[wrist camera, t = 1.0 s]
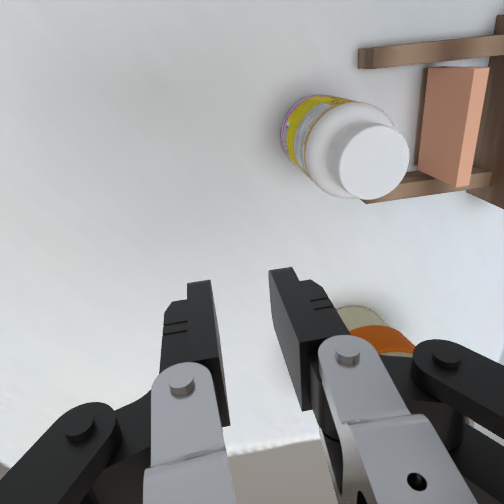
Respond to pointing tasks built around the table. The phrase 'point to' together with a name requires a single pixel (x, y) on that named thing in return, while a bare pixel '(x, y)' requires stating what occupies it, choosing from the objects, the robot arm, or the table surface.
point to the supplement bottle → (345, 146)
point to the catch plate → (451, 122)
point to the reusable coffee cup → (377, 333)
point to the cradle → (492, 118)
